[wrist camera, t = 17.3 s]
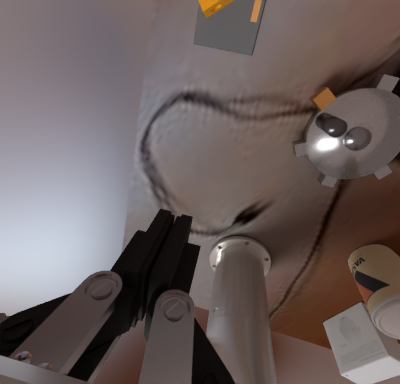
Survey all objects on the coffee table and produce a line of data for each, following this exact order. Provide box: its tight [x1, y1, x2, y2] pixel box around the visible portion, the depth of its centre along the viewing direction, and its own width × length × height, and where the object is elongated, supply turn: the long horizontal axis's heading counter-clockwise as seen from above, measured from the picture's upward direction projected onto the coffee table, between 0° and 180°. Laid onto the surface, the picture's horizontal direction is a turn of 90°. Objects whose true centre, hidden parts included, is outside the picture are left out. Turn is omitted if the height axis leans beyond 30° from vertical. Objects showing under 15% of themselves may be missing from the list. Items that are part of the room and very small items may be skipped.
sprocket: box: [292, 74, 400, 188], centre depth 28 cm, size 15×14×7 cm
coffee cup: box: [348, 244, 400, 339], centre depth 37 cm, size 9×9×12 cm
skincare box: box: [323, 302, 400, 384], centre depth 45 cm, size 10×6×10 cm, turn 148°
